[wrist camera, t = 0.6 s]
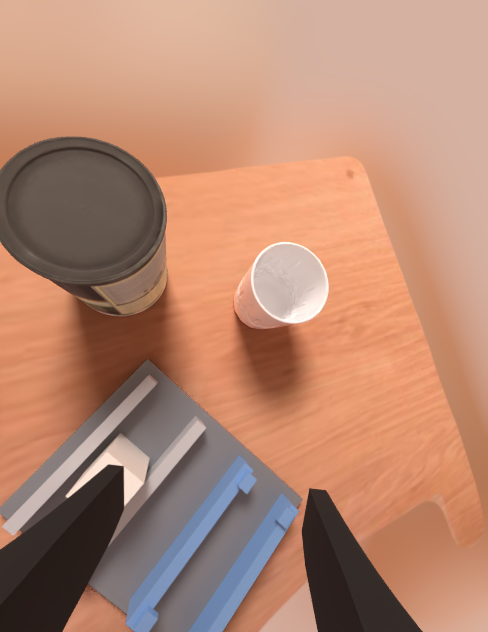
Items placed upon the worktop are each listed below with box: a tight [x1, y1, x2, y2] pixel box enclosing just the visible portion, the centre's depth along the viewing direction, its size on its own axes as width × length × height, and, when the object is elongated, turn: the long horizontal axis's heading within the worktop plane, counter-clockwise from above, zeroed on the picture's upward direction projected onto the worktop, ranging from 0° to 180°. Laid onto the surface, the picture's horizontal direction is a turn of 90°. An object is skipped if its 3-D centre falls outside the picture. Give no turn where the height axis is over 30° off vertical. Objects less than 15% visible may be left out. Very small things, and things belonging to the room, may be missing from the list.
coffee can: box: [0, 137, 168, 316], centre depth 24 cm, size 10×10×14 cm
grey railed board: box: [0, 359, 302, 632], centre depth 27 cm, size 18×24×4 cm
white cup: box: [233, 242, 329, 329], centre depth 30 cm, size 8×8×10 cm
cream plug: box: [65, 433, 150, 506], centre depth 24 cm, size 4×4×6 cm
